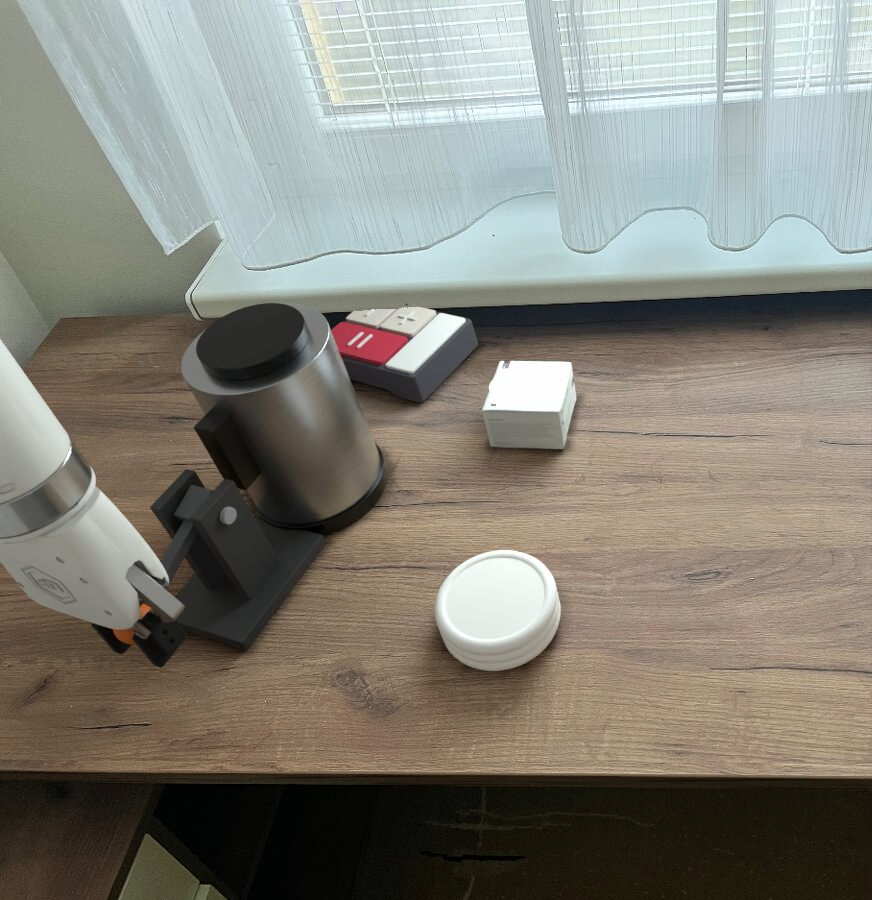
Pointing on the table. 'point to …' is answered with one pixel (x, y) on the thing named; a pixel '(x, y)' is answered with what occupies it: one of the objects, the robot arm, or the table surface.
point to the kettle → (285, 417)
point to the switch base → (234, 563)
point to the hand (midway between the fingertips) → (151, 643)
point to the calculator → (403, 348)
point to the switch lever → (175, 546)
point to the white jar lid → (498, 610)
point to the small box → (530, 404)
